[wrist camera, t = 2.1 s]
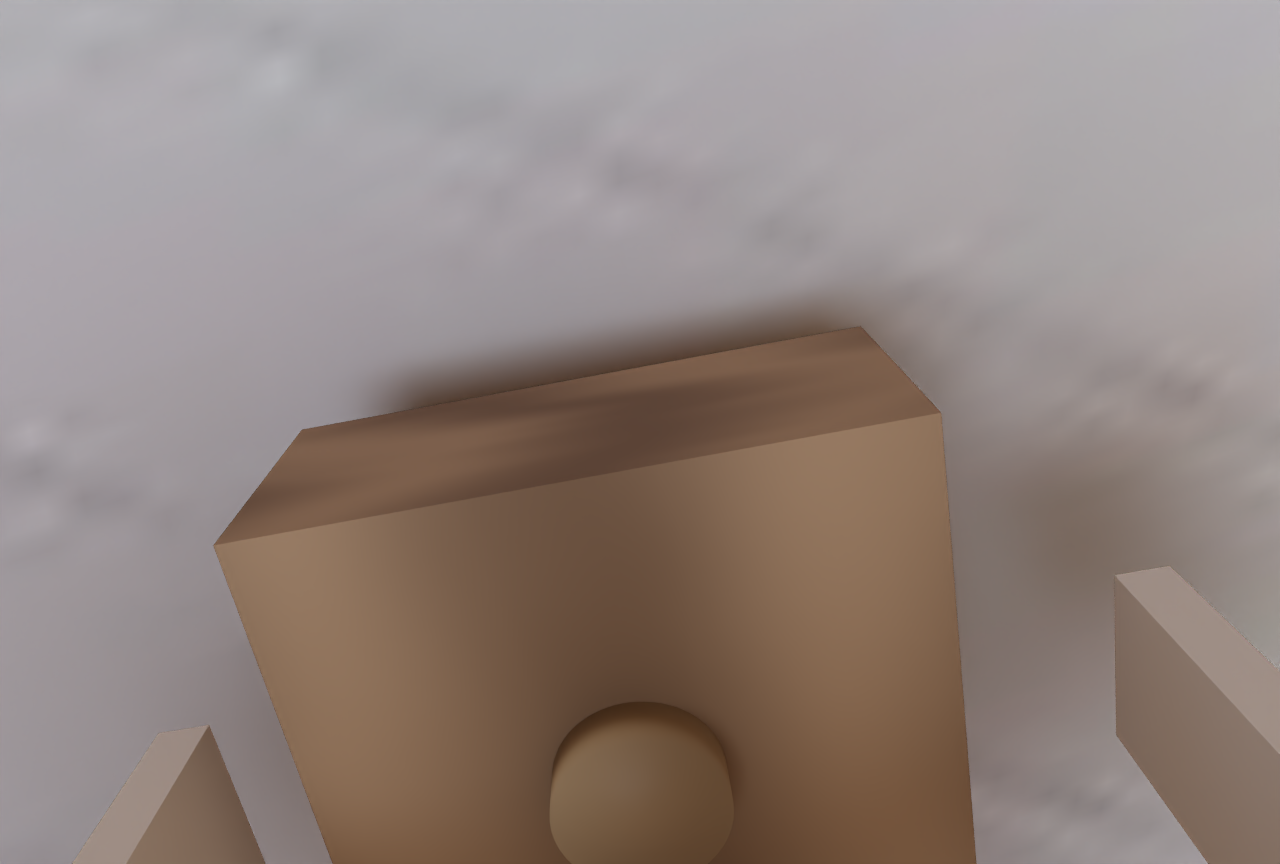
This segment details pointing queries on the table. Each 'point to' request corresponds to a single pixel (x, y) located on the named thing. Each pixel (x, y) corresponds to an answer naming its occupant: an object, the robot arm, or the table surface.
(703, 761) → the walnut cover
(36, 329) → the table surface
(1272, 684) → the robot arm
